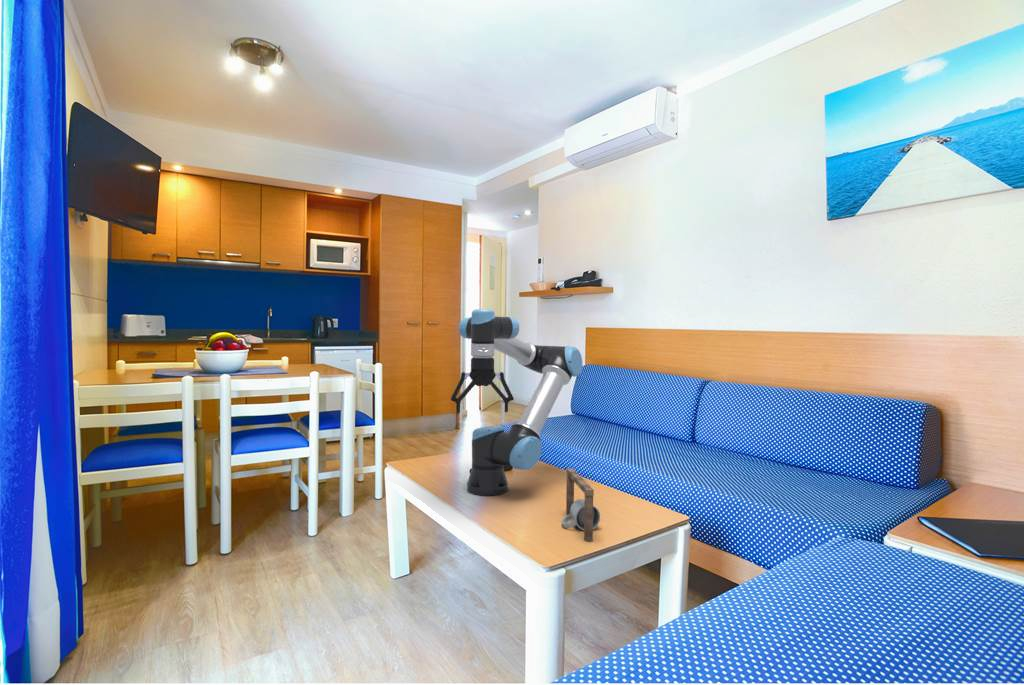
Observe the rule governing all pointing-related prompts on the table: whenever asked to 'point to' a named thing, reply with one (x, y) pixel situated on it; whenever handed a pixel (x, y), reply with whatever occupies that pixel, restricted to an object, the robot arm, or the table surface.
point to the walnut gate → (588, 504)
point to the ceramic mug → (580, 515)
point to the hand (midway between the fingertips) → (482, 422)
